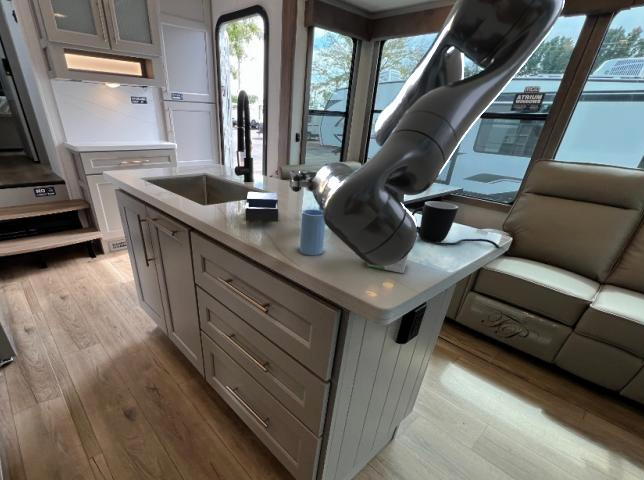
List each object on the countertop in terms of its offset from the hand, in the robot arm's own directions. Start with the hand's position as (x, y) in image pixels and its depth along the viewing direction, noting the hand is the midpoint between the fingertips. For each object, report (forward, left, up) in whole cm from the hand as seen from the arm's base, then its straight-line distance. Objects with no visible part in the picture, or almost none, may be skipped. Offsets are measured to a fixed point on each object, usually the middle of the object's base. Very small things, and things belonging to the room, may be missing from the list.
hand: (323, 176), depth 62 cm
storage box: (+13, -38, -20) cm, 45 cm away
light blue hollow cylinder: (0, -11, -20) cm, 23 cm away
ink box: (-17, -2, -20) cm, 27 cm away
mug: (-37, -24, -20) cm, 49 cm away
